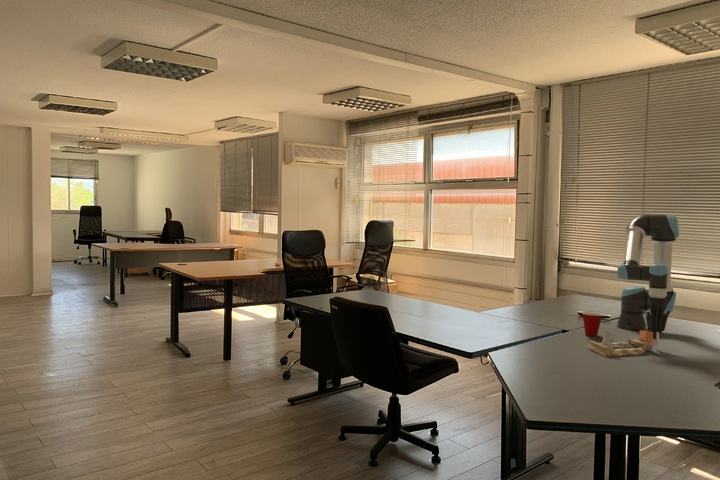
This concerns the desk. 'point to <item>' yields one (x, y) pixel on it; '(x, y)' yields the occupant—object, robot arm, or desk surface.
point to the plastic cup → (591, 323)
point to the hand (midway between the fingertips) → (655, 345)
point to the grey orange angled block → (644, 337)
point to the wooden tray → (616, 352)
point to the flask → (607, 340)
